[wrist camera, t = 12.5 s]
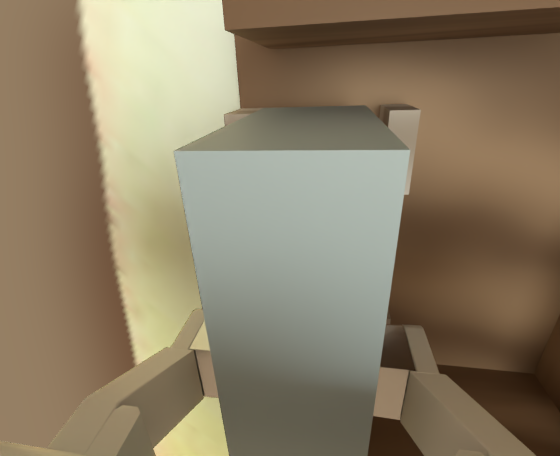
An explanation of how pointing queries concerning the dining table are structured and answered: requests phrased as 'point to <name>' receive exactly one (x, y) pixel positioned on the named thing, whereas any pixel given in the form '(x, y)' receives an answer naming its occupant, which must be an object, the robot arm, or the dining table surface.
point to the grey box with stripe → (295, 271)
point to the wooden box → (445, 175)
